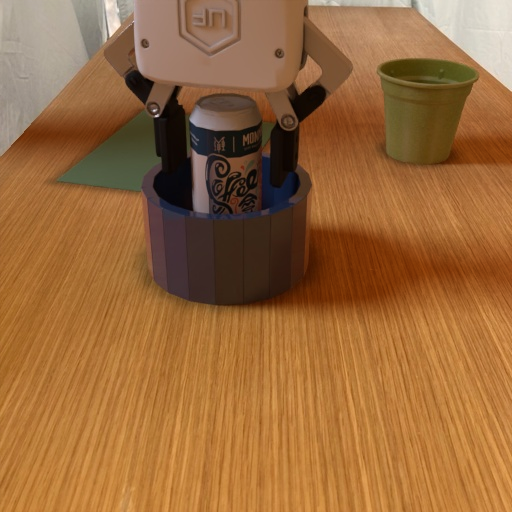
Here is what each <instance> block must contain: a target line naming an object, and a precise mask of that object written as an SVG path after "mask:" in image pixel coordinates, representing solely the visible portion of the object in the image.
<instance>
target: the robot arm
mask: <svg viewBox="0 0 512 512" xmlns="http://www.w3.org/2000/svg"><path fill="white" fill-rule="evenodd" d="M309 7H310V6H309V0H133V20H132V21H131V22H130V24H128V25H127V26H126V27H125V28H124V29H123V30H122V31H121V32H120V33H119V34H118V35H117V36H116V37H115V38H114V39H113V40H112V41H111V42H110V43H109V44H108V45H107V46H106V47H105V48H104V49H103V56H104V58H105V60H106V61H107V62H108V63H109V64H110V66H111V67H112V68H113V69H114V70H115V72H116V73H117V74H118V75H119V76H120V77H121V78H123V79H124V83H125V86H126V88H128V89H129V90H130V92H131V93H132V94H133V95H134V96H135V97H136V98H137V99H138V100H139V101H140V103H142V104H143V105H144V110H145V111H146V113H147V114H148V115H149V116H150V117H153V120H154V134H155V147H156V155H157V157H161V163H162V173H163V174H165V175H172V174H174V173H175V172H176V171H177V170H178V169H179V167H180V166H181V165H182V164H183V163H184V162H185V161H186V160H187V137H186V117H185V114H186V109H185V108H184V105H183V104H179V99H178V98H179V96H180V94H181V91H182V89H183V87H186V88H187V87H189V88H198V89H199V88H200V89H210V90H211V89H213V90H221V91H232V92H233V91H235V92H244V93H245V92H248V93H262V94H264V95H265V96H266V99H267V101H268V103H269V105H270V107H271V109H272V112H273V114H274V116H275V123H276V124H275V126H274V127H273V129H272V130H271V134H270V139H269V153H270V185H272V187H275V188H281V186H282V185H283V183H284V181H285V179H286V177H287V176H288V174H289V172H295V170H296V168H297V165H298V164H299V154H300V153H299V151H300V126H301V125H300V124H301V123H302V122H303V121H304V120H306V119H307V118H308V117H309V116H311V114H313V113H314V112H315V111H316V110H317V109H318V108H319V107H321V106H322V105H323V104H324V103H325V101H327V99H328V98H329V97H330V96H331V95H333V94H334V93H335V92H336V91H337V90H338V89H339V88H340V87H341V86H342V85H343V84H344V83H345V82H346V80H348V79H349V77H351V74H352V72H353V70H354V64H353V62H352V61H351V60H350V59H349V57H348V56H347V55H346V54H344V53H343V52H342V51H341V50H340V48H339V47H337V46H336V45H335V43H333V41H331V39H330V38H329V37H327V36H326V34H325V33H324V32H322V31H321V29H319V28H318V26H317V25H316V24H315V23H314V22H313V21H312V20H310V9H309ZM308 56H309V57H310V59H312V60H313V61H314V63H315V64H317V66H318V67H319V68H320V69H321V74H320V75H319V76H318V77H317V79H315V81H314V82H312V83H311V84H310V85H309V86H308V87H306V88H305V89H304V90H302V92H301V91H300V89H299V86H298V84H297V82H296V80H297V78H298V75H299V72H300V71H302V70H303V69H304V68H305V66H306V64H307V61H308Z"/></svg>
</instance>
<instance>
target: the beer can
mask: <svg viewBox="0 0 512 512" xmlns="http://www.w3.org/2000/svg"><path fill="white" fill-rule="evenodd" d="M189 115H190V116H189V129H190V151H191V172H192V194H193V211H195V212H202V213H210V214H243V213H249V212H255V211H261V198H262V152H263V149H262V122H263V115H262V112H261V110H260V108H259V106H258V104H257V101H256V100H255V99H254V98H252V97H251V96H250V95H247V94H241V93H235V92H219V93H211V94H207V95H203V96H200V97H199V98H198V99H197V100H196V101H195V102H194V106H193V108H192V109H191V112H190V114H189Z"/></svg>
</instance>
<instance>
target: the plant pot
mask: <svg viewBox="0 0 512 512" xmlns="http://www.w3.org/2000/svg"><path fill="white" fill-rule="evenodd" d="M376 74H377V76H379V78H380V87H381V90H382V91H383V108H384V109H383V110H384V111H383V112H384V132H385V135H384V137H385V152H386V154H387V155H388V156H389V157H391V158H392V159H394V160H397V161H399V162H403V163H406V164H407V163H408V164H413V165H434V164H439V163H443V162H445V161H447V160H448V158H449V157H450V155H451V151H452V148H453V145H454V142H455V137H456V134H457V131H458V127H459V124H460V120H461V117H462V113H463V111H464V108H465V104H466V102H467V99H468V97H469V96H470V95H471V93H472V89H473V86H474V84H475V83H477V82H478V80H479V78H480V72H479V71H478V69H476V68H475V67H473V66H470V65H468V64H465V63H461V62H458V61H453V60H448V59H441V58H429V57H407V58H405V57H404V58H395V59H390V60H386V61H384V62H381V63H380V64H379V65H377V67H376Z"/></svg>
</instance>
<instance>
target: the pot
mask: <svg viewBox="0 0 512 512" xmlns="http://www.w3.org/2000/svg"><path fill="white" fill-rule="evenodd" d="M140 193H141V205H142V216H143V217H142V218H143V224H144V225H143V229H144V237H145V238H144V239H145V240H144V241H145V251H146V261H147V262H146V263H147V269H148V272H149V274H150V276H151V279H152V280H153V282H154V283H155V284H157V285H158V286H159V287H160V288H161V289H163V290H164V291H166V293H169V295H173V296H175V297H178V298H180V299H183V300H185V301H188V302H192V303H198V304H203V305H204V304H205V305H211V306H243V305H244V306H245V305H249V304H254V303H258V302H264V301H267V300H270V299H271V300H272V299H273V298H276V297H278V296H280V295H282V294H284V293H286V292H289V291H290V290H292V289H293V288H294V287H296V285H297V284H298V283H299V282H300V281H302V280H303V279H304V278H305V275H306V272H307V269H308V267H309V260H310V241H311V240H310V238H311V222H312V221H311V219H312V199H313V182H312V178H311V176H310V173H309V172H308V171H307V170H306V169H304V167H302V166H301V165H300V164H299V163H298V165H297V168H296V170H295V172H289V174H288V176H287V177H286V179H285V181H284V183H283V185H282V186H281V188H275V187H272V185H270V152H266V151H262V198H261V211H255V212H249V213H243V214H210V213H202V212H195V211H193V194H192V172H191V153H190V152H189V153H187V160H186V161H185V162H184V163H183V164H182V165H181V166H180V167H179V169H178V170H177V171H176V172H175V173H174V174H172V175H165V174H163V173H162V163H159V164H157V165H155V166H153V167H152V168H151V169H150V170H149V171H148V172H147V173H146V174H145V175H144V177H143V181H142V185H141V192H140Z"/></svg>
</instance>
